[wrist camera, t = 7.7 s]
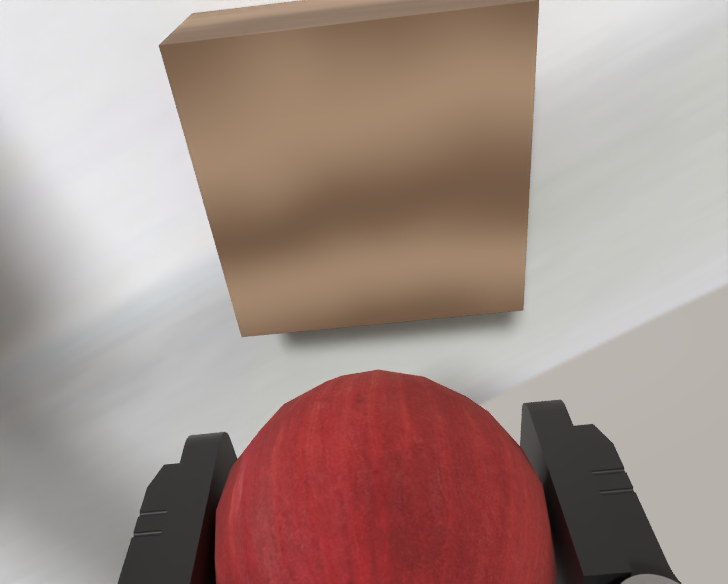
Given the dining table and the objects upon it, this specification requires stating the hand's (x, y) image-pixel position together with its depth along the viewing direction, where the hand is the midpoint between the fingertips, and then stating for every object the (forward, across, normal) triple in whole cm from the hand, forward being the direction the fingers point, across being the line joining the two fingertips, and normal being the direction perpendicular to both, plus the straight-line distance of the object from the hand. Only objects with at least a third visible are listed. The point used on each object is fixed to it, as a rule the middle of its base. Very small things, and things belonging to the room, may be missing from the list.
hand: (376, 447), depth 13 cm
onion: (+2, 0, 0) cm, 2 cm away
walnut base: (+17, 0, 0) cm, 17 cm away
